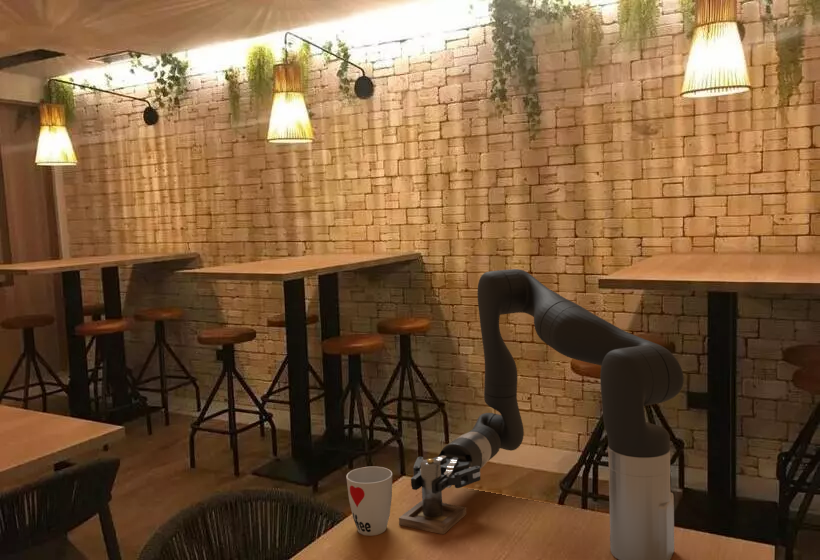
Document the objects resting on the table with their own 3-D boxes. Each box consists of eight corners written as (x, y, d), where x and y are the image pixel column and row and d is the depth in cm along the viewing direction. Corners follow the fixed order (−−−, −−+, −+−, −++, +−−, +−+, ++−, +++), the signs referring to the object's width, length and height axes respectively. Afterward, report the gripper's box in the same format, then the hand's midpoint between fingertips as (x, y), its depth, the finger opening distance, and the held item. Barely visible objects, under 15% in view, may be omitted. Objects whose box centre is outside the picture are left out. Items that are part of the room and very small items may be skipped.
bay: (466, 514, 127) (466, 507, 127) (443, 534, 119) (443, 527, 119) (423, 505, 132) (423, 499, 132) (399, 524, 124) (398, 517, 124)
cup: (343, 525, 125) (340, 471, 124) (384, 515, 128) (381, 463, 127) (358, 543, 117) (355, 486, 117) (402, 532, 121) (399, 477, 120)
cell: (446, 510, 126) (443, 457, 125) (436, 518, 123) (434, 464, 122) (429, 507, 128) (426, 454, 127) (419, 514, 125) (416, 461, 124)
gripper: (434, 432, 140) (388, 460, 126) (498, 441, 133) (458, 472, 119) (435, 468, 141) (390, 500, 126) (499, 479, 134) (460, 514, 119)
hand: (423, 486), depth 123 cm, fingers closed on cell, 3 cm apart
